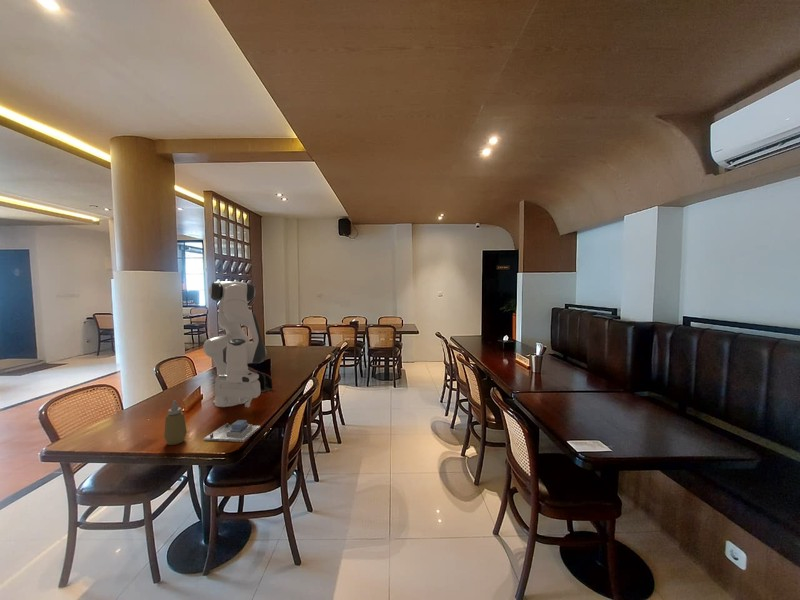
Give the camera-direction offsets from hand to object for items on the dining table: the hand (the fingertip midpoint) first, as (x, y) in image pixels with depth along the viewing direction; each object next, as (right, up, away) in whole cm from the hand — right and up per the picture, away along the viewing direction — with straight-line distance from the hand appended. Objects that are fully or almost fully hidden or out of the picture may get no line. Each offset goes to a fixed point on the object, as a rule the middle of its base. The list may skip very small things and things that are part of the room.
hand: (237, 406), depth 148 cm
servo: (+1, -12, 0) cm, 12 cm away
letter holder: (-19, -10, +67) cm, 71 cm away
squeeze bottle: (-23, -13, -7) cm, 27 cm away
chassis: (-2, -13, +1) cm, 13 cm away
